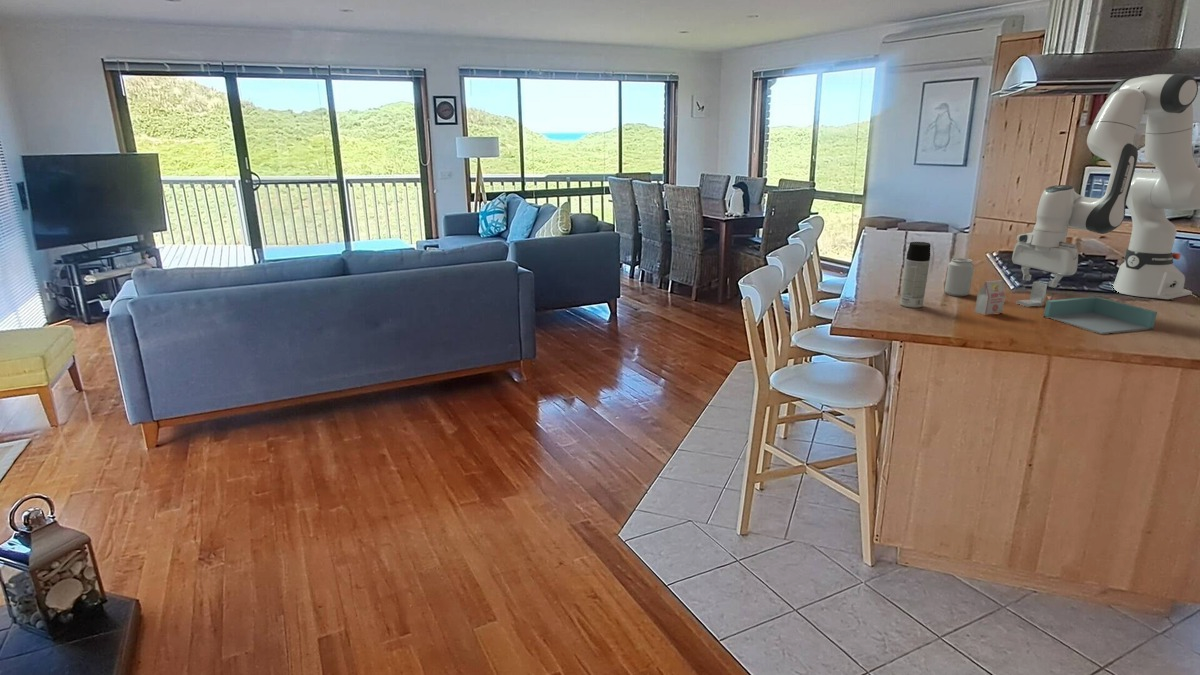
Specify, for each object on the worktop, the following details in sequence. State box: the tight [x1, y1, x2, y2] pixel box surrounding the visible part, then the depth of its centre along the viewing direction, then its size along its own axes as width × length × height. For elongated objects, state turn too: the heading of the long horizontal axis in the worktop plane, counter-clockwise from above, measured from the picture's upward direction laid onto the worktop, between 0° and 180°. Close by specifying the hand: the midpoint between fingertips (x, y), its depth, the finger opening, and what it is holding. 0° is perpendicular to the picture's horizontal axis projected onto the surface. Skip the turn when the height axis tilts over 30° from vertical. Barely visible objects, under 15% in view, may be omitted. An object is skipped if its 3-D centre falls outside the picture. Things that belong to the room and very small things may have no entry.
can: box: [944, 257, 975, 297], centre depth 218 cm, size 8×8×12 cm
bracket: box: [1016, 281, 1048, 308], centre depth 205 cm, size 6×4×7 cm, turn 104°
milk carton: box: [974, 279, 1006, 315], centre depth 196 cm, size 4×7×10 cm, turn 109°
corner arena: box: [1043, 295, 1158, 335], centre depth 186 cm, size 18×18×5 cm
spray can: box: [899, 241, 932, 309], centre depth 204 cm, size 7×7×20 cm
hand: (1039, 283), depth 204 cm, fingers open, 8 cm apart
